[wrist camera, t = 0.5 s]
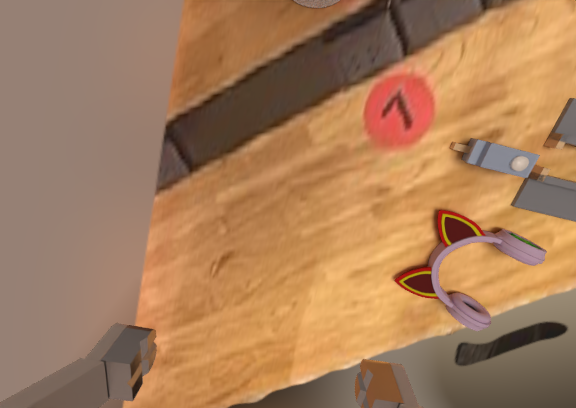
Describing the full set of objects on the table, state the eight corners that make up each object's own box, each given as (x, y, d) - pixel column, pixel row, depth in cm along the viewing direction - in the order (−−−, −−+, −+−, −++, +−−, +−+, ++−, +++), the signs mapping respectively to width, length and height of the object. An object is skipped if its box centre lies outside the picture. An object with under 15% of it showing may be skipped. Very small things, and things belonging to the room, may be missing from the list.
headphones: (493, 337, 57) (410, 314, 53) (462, 302, 66) (389, 280, 62) (561, 258, 51) (472, 225, 46) (516, 232, 60) (438, 202, 56)
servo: (455, 134, 51) (477, 139, 45) (519, 150, 52) (550, 157, 46) (445, 155, 53) (465, 163, 46) (509, 171, 53) (537, 181, 47)
